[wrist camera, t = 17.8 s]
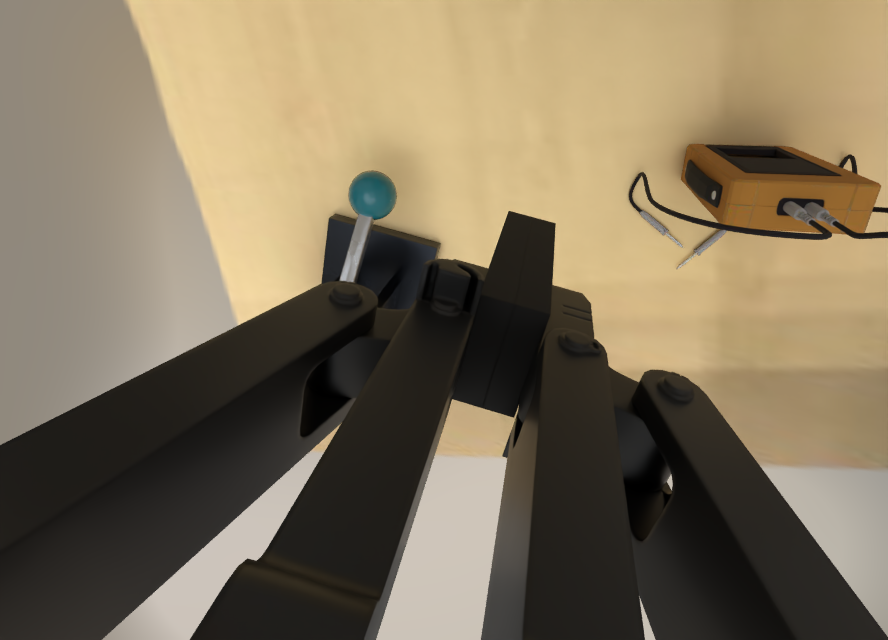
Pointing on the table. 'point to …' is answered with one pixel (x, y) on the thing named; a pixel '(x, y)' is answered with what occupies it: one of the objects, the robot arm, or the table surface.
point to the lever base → (380, 261)
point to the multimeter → (772, 194)
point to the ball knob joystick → (366, 216)
